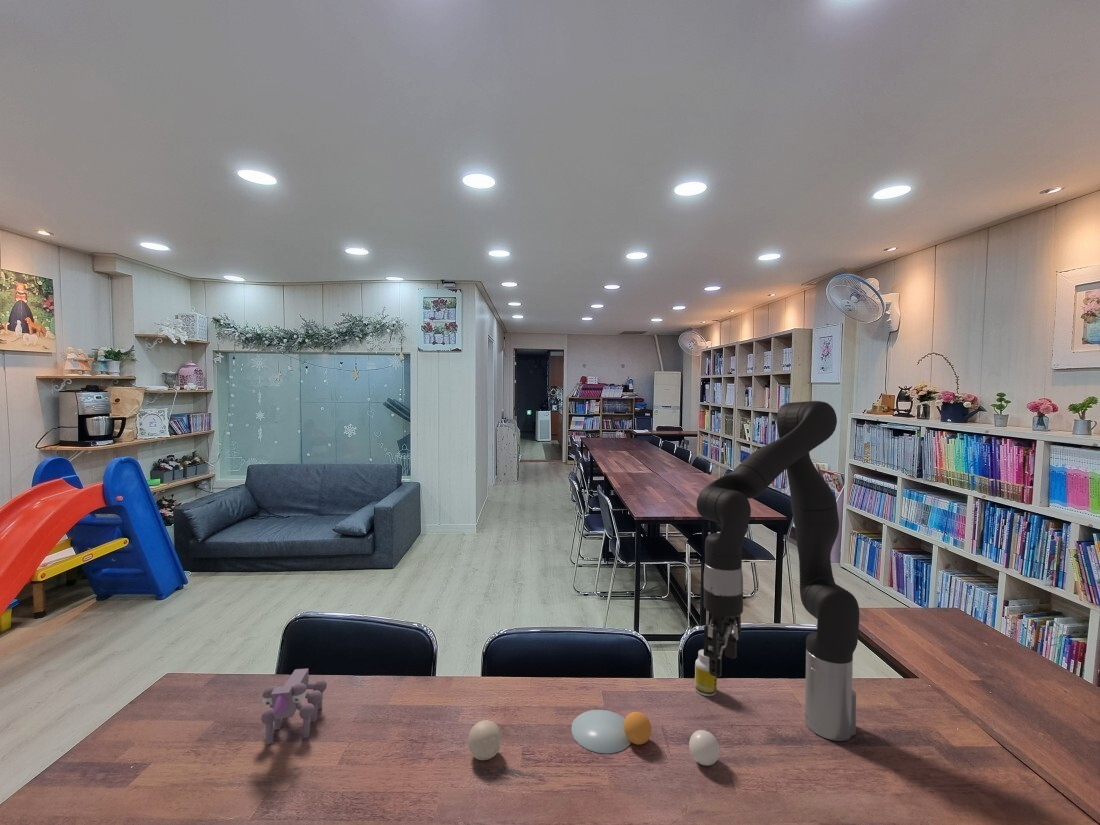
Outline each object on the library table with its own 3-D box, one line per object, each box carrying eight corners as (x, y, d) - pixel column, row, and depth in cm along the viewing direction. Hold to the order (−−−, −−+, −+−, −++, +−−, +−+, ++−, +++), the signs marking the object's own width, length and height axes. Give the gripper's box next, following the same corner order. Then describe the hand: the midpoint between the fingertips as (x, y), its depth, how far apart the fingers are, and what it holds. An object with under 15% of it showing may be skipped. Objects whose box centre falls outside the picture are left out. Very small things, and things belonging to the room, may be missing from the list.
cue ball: (711, 750, 100) (711, 722, 100) (724, 772, 94) (725, 742, 94) (684, 752, 100) (684, 724, 100) (696, 774, 94) (696, 744, 94)
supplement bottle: (718, 698, 118) (718, 659, 118) (695, 695, 119) (696, 657, 119) (715, 685, 124) (715, 649, 123) (693, 683, 125) (694, 646, 124)
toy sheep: (302, 766, 95) (299, 699, 94) (244, 776, 93) (240, 708, 92) (330, 704, 114) (327, 649, 114) (282, 711, 112) (279, 655, 112)
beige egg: (475, 774, 93) (475, 741, 93) (464, 750, 99) (464, 719, 99) (506, 762, 96) (507, 730, 96) (494, 740, 103) (494, 710, 103)
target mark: (624, 709, 114) (624, 708, 114) (641, 751, 100) (641, 750, 100) (567, 712, 112) (567, 711, 112) (576, 755, 98) (576, 754, 98)
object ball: (646, 731, 106) (646, 704, 106) (655, 750, 100) (655, 722, 100) (620, 732, 105) (620, 706, 105) (627, 752, 99) (627, 724, 99)
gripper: (717, 572, 103) (717, 646, 103) (690, 593, 92) (691, 675, 92) (753, 581, 98) (753, 658, 98) (729, 603, 87) (729, 689, 87)
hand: (723, 666), depth 95 cm, fingers open, 8 cm apart
